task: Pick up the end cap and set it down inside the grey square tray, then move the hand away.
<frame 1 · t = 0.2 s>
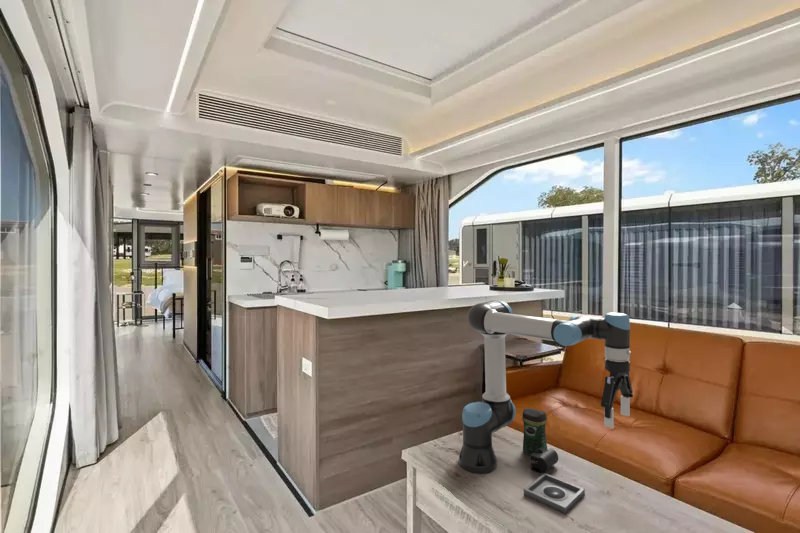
hand: (617, 420, 142), 28 cm above the table, fingers open, 13 cm apart
coffee jar: (534, 453, 177), on the table
grey square tray: (554, 495, 147), on the table
end cap: (544, 469, 164), on the table
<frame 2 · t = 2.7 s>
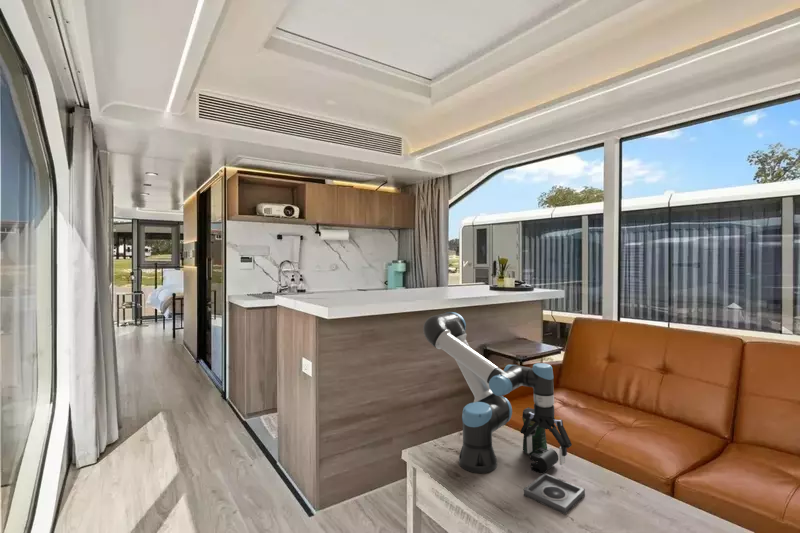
hand: (545, 457, 164), 5 cm above the table, fingers open, 13 cm apart
nothing on the table moved.
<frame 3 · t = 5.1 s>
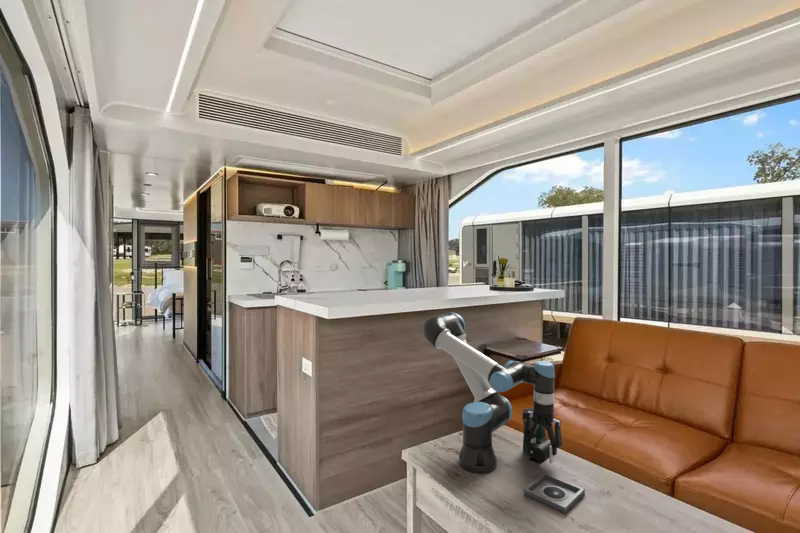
hand: (542, 458, 165), 4 cm above the table, fingers closed on end cap, 7 cm apart
end cap: (542, 459, 165), point 3 cm above the table, touching gripper
everything else where it was.
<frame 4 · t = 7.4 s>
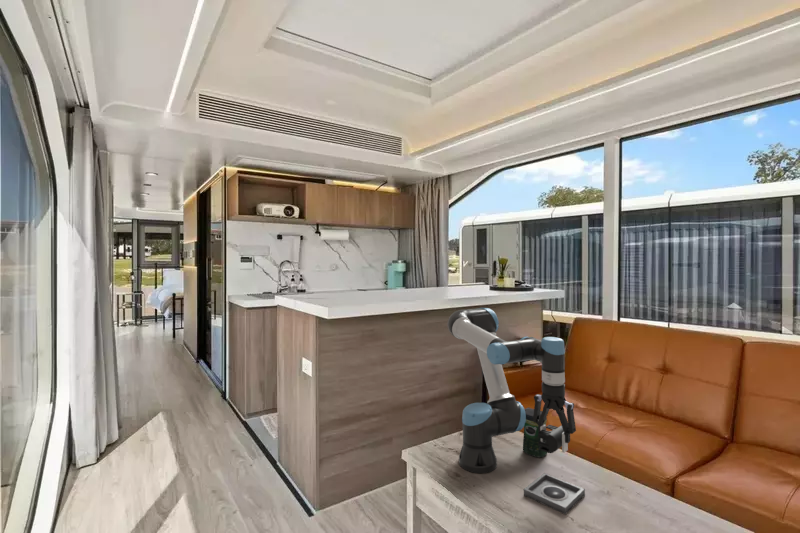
hand: (554, 447, 146), 17 cm above the table, fingers closed on end cap, 7 cm apart
end cap: (554, 448, 146), point 17 cm above the table, touching gripper
everything else where it was.
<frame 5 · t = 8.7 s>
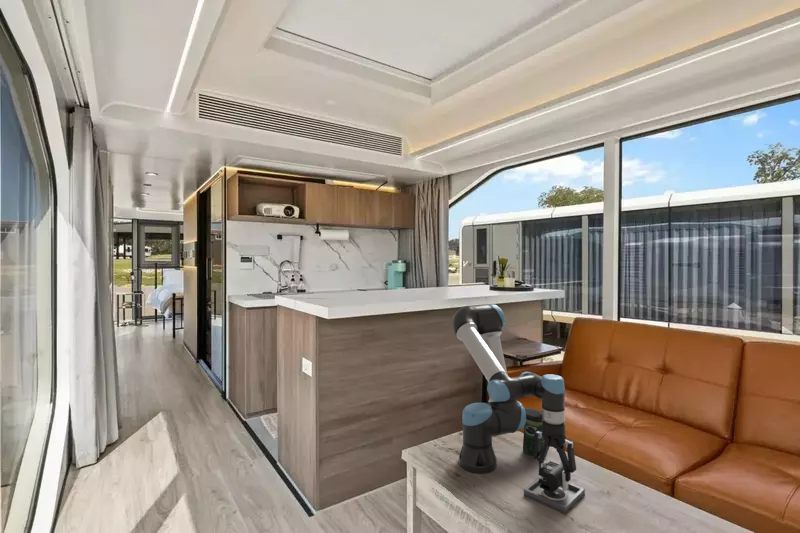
hand: (554, 484, 146), 4 cm above the table, fingers closed on end cap, 7 cm apart
end cap: (554, 486, 146), point 3 cm above the table, touching gripper
everything else where it was.
when the fingers open (2 cm above the table, at t = 9.7 s): end cap stays where it is, resting on grey square tray.
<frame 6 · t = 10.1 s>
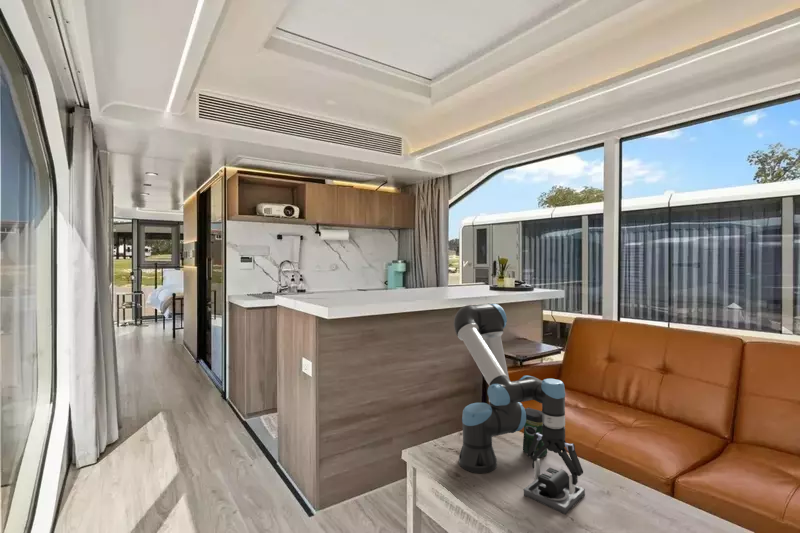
hand: (554, 485, 146), 4 cm above the table, fingers open, 12 cm apart
end cap: (554, 492, 147), point 1 cm above the table, touching grey square tray
everything else where it was.
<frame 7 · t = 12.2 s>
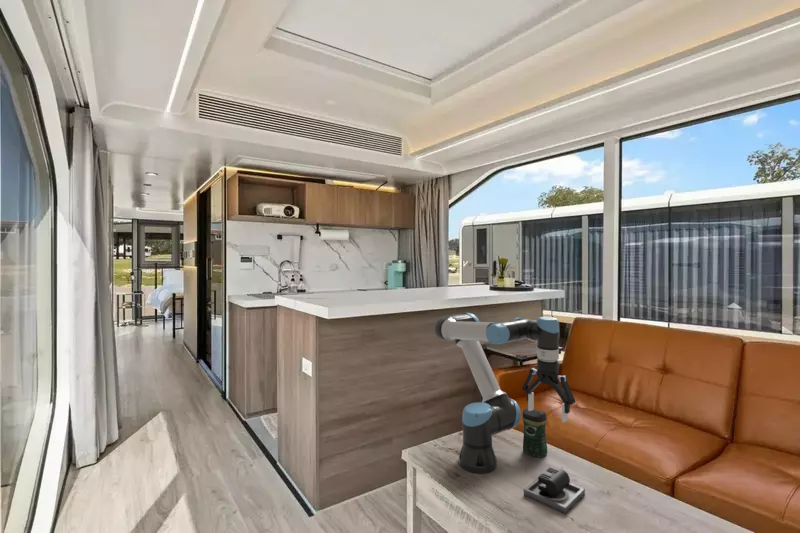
hand: (547, 415, 155), 25 cm above the table, fingers open, 13 cm apart
nothing on the table moved.
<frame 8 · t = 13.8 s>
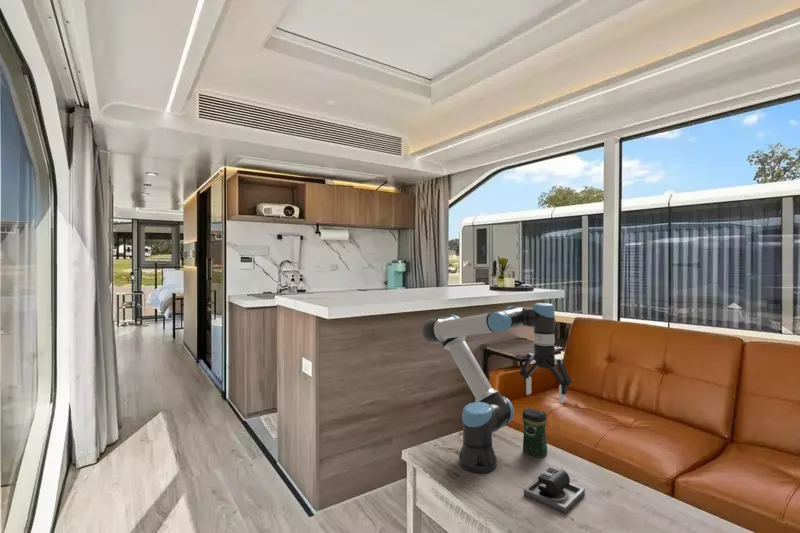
hand: (544, 398, 162), 29 cm above the table, fingers open, 13 cm apart
nothing on the table moved.
at the end: end cap inside the target area on the grey square tray (0.1 cm from its centre), point 0.7 cm above the grey square tray's base; the gripper is holding nothing; end cap touching grey square tray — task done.
